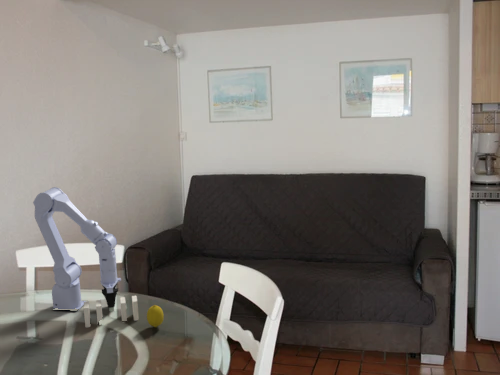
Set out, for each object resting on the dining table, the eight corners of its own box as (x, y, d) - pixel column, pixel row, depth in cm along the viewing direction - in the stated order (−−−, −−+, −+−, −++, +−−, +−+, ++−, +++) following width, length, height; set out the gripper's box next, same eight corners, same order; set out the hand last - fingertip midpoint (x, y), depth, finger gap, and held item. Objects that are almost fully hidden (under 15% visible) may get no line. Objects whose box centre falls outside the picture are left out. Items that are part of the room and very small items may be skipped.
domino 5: (134, 320, 183) (132, 301, 181) (133, 314, 187) (131, 296, 186) (138, 320, 183) (137, 301, 182) (137, 313, 188) (136, 295, 186)
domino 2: (97, 325, 180) (96, 306, 178) (97, 319, 184) (96, 300, 183) (102, 325, 180) (101, 306, 179) (102, 318, 185) (100, 299, 183)
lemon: (148, 324, 180) (146, 302, 178) (164, 323, 181) (163, 301, 179) (146, 331, 175) (145, 309, 173) (163, 330, 175) (162, 308, 173)
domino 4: (122, 322, 182) (120, 303, 180) (121, 316, 186) (120, 297, 185) (126, 321, 182) (125, 302, 181) (126, 315, 187) (124, 296, 185)
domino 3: (109, 311, 190) (107, 293, 189) (109, 305, 195) (107, 287, 193) (114, 310, 191) (112, 292, 189) (113, 305, 195) (112, 287, 194)
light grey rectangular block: (85, 327, 179) (83, 308, 177) (85, 321, 183) (84, 302, 182) (90, 326, 179) (88, 307, 178) (90, 320, 184) (88, 301, 182)
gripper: (120, 274, 183) (123, 310, 186) (119, 260, 197) (121, 294, 200) (99, 276, 182) (102, 313, 185) (99, 262, 195) (102, 296, 198)
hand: (111, 303), depth 192 cm, fingers closed on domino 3, 5 cm apart
